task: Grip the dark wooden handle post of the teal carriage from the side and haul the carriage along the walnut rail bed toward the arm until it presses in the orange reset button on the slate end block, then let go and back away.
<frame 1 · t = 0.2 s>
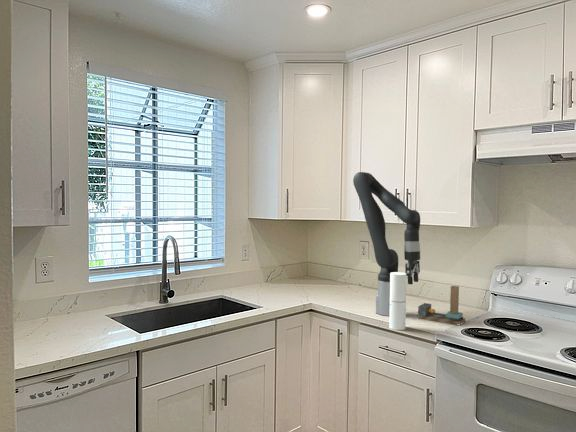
hand: (413, 283, 211), 18 cm above the worktop, tool pointing down, fingers open, 8 cm apart
carriage: (454, 301, 205), point 10 cm above the worktop, slide at 0.0 cm
reset button: (431, 311, 212), point 4 cm above the worktop, slide at 0.0 cm
rail bed: (441, 319, 209), on the worktop
cylindrical container: (397, 328, 195), on the worktop
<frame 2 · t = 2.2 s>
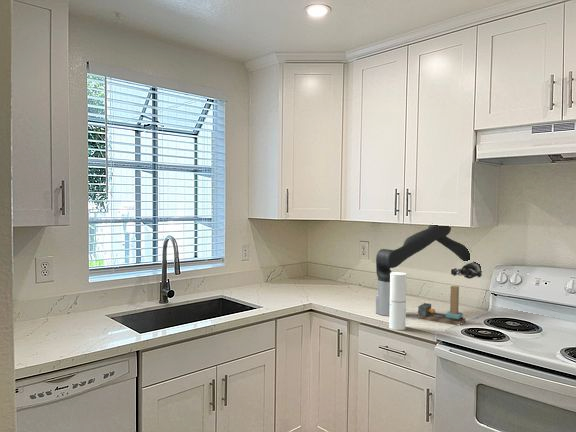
hand: (462, 274, 216), 21 cm above the worktop, tool horizontal, fingers open, 8 cm apart
nothing on the worktop moved.
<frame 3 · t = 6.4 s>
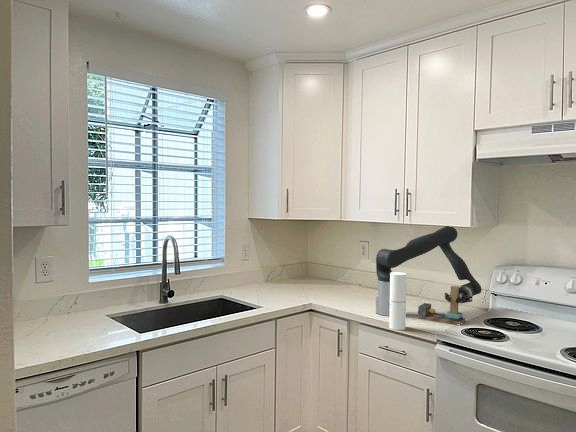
hand: (452, 300, 203), 11 cm above the worktop, tool horizontal, fingers closed on carriage, 3 cm apart
carriage: (454, 301, 205), point 10 cm above the worktop, slide at 0.0 cm, touching gripper
everything else where it was.
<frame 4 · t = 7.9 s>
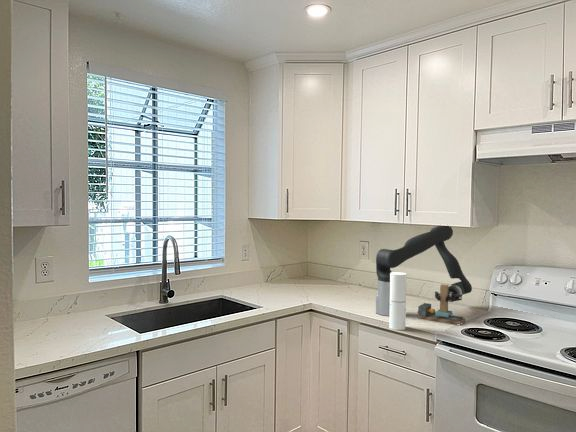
hand: (442, 299, 206), 11 cm above the worktop, tool horizontal, fingers closed on carriage, 3 cm apart
carriage: (444, 299, 208), point 10 cm above the worktop, slide at 4.9 cm, touching gripper
everything else where it was.
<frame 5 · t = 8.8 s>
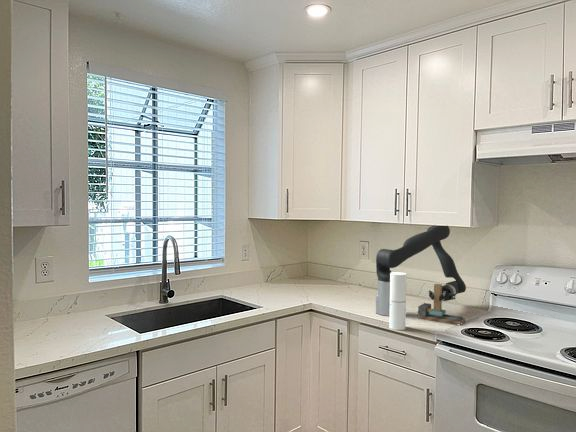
hand: (436, 298, 208), 11 cm above the worktop, tool horizontal, fingers closed on carriage, 3 cm apart
carriage: (437, 299, 210), point 10 cm above the worktop, slide at 8.0 cm, touching gripper, reset button
reset button: (428, 310, 213), point 4 cm above the worktop, slide at 1.5 cm, touching carriage
everything else where it was.
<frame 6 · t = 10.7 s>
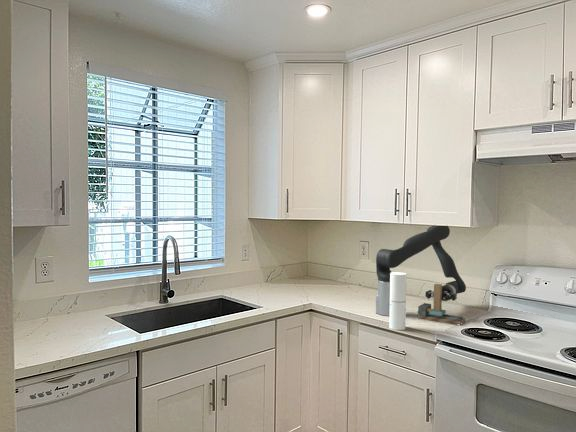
hand: (436, 297, 208), 11 cm above the worktop, tool horizontal, fingers open, 8 cm apart
carriage: (437, 299, 210), point 10 cm above the worktop, slide at 8.0 cm, touching reset button
everything else where it was.
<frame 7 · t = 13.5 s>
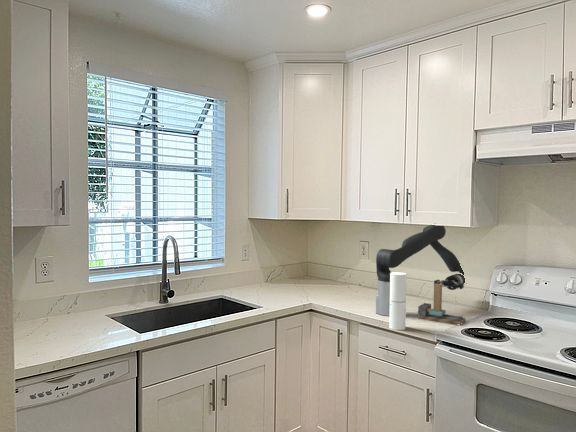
hand: (444, 286, 219), 15 cm above the worktop, tool horizontal, fingers open, 8 cm apart
nothing on the worktop moved.
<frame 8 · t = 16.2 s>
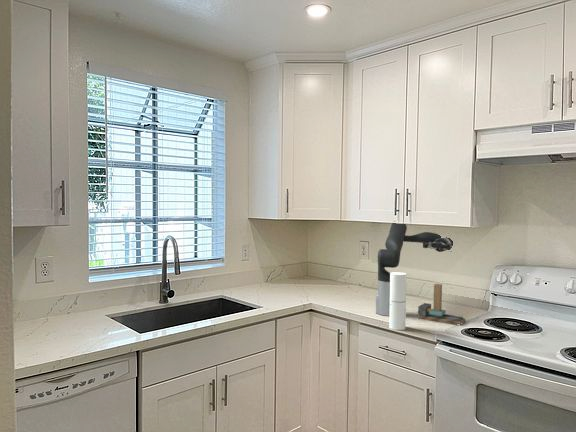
hand: (432, 246, 227), 34 cm above the worktop, tool horizontal, fingers open, 8 cm apart
nothing on the worktop moved.
at the end: carriage slide at 8.0 cm; reset button slide at 1.5 cm; the gripper is holding nothing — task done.
